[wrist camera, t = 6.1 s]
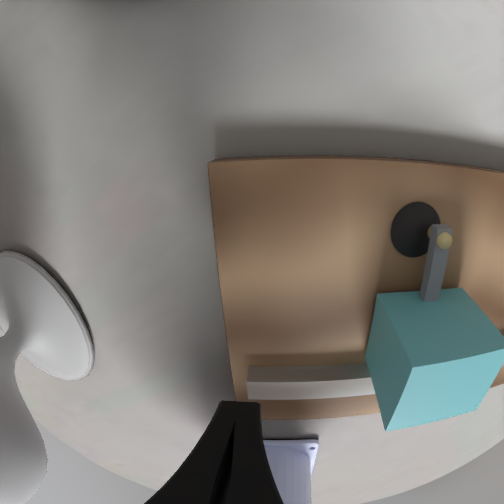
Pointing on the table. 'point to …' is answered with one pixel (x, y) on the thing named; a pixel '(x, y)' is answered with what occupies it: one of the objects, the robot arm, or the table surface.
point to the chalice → (39, 354)
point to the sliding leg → (431, 347)
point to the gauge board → (339, 266)
